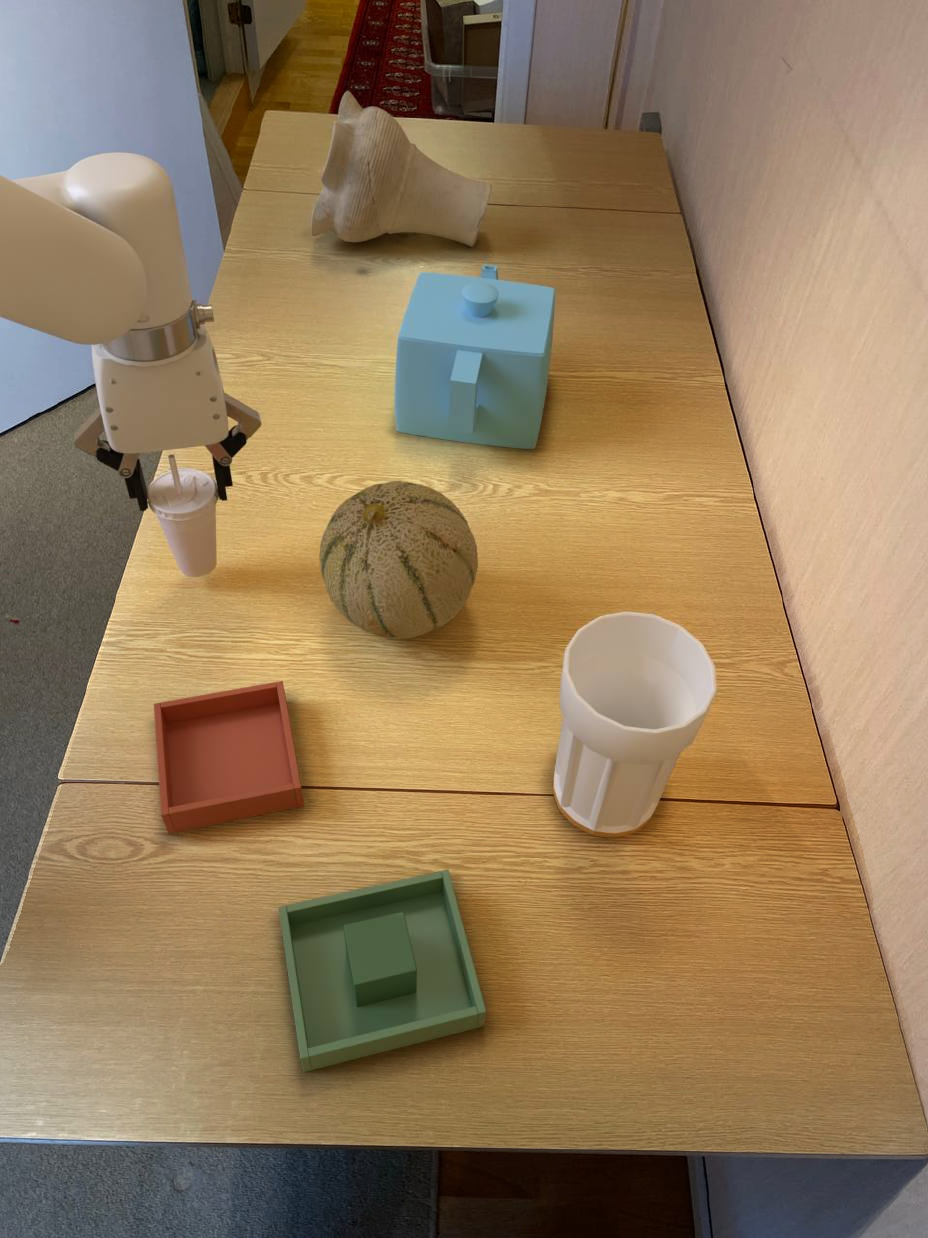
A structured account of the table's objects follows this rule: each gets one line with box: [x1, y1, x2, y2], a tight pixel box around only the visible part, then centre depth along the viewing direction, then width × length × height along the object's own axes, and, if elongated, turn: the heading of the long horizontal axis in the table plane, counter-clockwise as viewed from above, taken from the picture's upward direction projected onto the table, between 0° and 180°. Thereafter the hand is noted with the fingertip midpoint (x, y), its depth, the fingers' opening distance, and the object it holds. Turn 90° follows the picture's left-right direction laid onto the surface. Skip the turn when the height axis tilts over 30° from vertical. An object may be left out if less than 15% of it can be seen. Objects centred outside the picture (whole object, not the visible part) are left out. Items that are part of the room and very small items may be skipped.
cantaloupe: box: [318, 480, 479, 639], centre depth 92 cm, size 15×15×15 cm
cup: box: [552, 610, 718, 838], centre depth 78 cm, size 11×11×17 cm
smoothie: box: [147, 454, 219, 578], centre depth 92 cm, size 6×6×14 cm
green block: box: [343, 912, 417, 1007], centre depth 72 cm, size 4×4×4 cm
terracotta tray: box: [153, 680, 305, 834], centre depth 84 cm, size 11×11×3 cm
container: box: [394, 263, 556, 450], centre depth 114 cm, size 17×25×15 cm
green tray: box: [278, 869, 487, 1073], centre depth 73 cm, size 13×11×3 cm
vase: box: [310, 90, 492, 248], centre depth 137 cm, size 22×22×28 cm
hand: (183, 494), depth 90 cm, fingers closed on smoothie, 6 cm apart
